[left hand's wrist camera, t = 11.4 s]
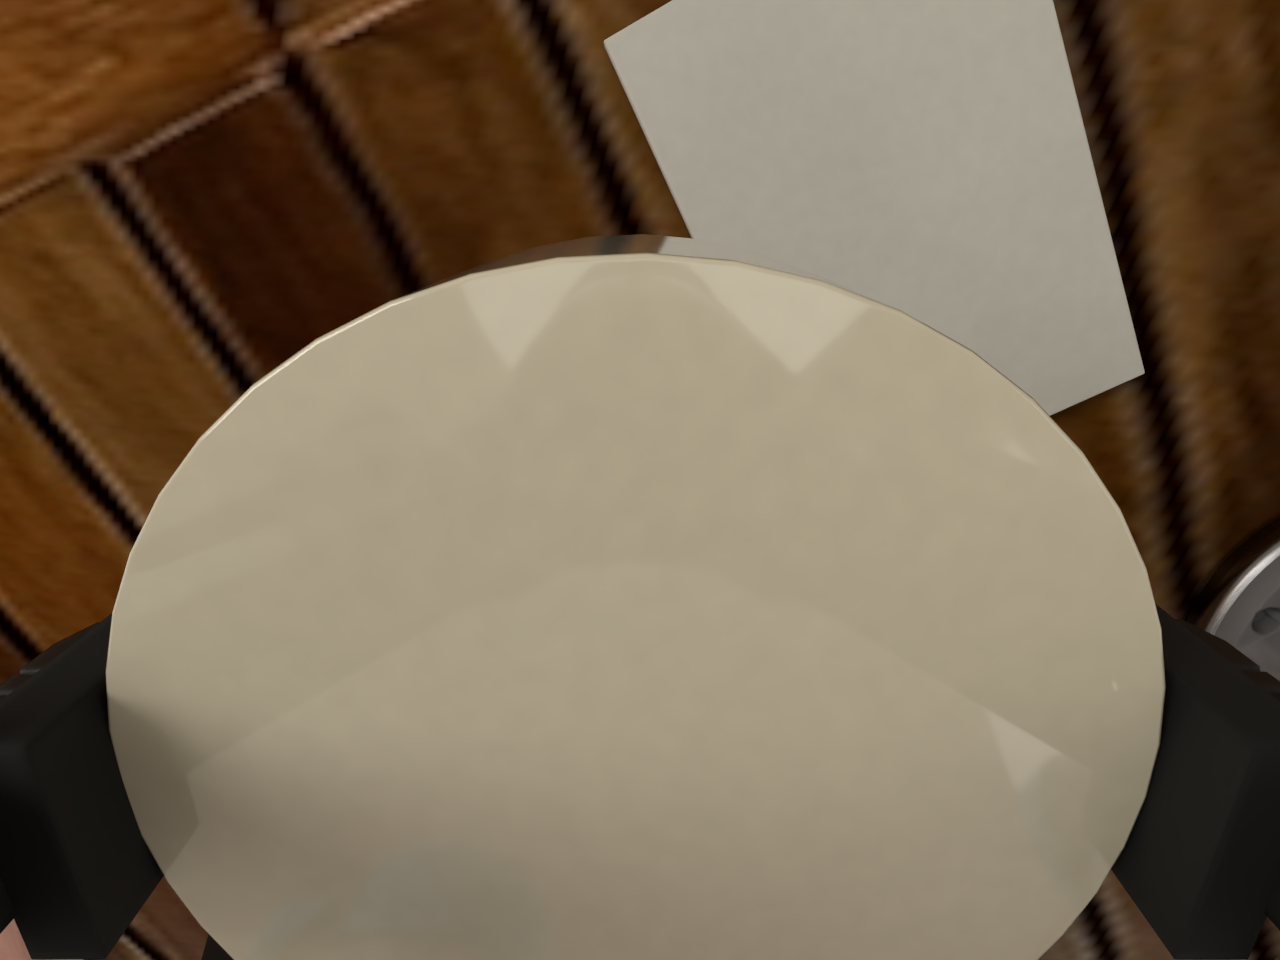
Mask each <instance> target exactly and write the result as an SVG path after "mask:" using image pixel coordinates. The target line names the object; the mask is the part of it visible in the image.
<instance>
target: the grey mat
mask: <svg viewBox="0 0 1280 960" xmlns="http://www.w3.org/2000/svg"><path fill="white" fill-rule="evenodd" d="M604 46H605V49H606V51H607V53H608V55H609V58H610V60H611V62H612V64H613V66H614V69H615V71H616V73H617V75H618V77H619V80H620V82H621V84H622V86H623V88H624V90H625V93H626V95H627V97H628V99H629V101H630V104H631V106H632V108H633V110H634V112H635V115H636V117H637V119H638V121H639V123H640V126H641V128H642V130H643V132H644V134H645V137H646V139H647V141H648V143H649V145H650V148H651V150H652V152H653V154H654V156H655V158H656V161H657V163H658V165H659V167H660V169H661V172H662V174H663V176H664V178H665V180H666V183H667V185H668V187H669V189H670V191H671V194H672V196H673V198H674V200H675V202H676V205H677V207H678V209H679V211H680V213H681V216H682V218H683V220H684V222H685V224H686V227H687V229H688V231H689V233H690V235H691V237H692V239H702V240H706V241H711V242H715V243H720V244H724V245H728V246H733V247H737V248H741V249H746V250H750V251H754V252H758V253H761V254H764V255H766V256H769V257H771V258H774V259H777V260H779V261H782V262H784V263H787V264H790V265H792V266H795V267H797V268H800V269H803V270H805V271H808V272H810V273H813V274H815V275H818V276H820V277H822V278H825V279H827V280H830V281H832V282H834V283H837V284H839V285H842V286H844V287H846V288H849V289H851V290H853V291H856V292H858V293H861V294H863V295H865V296H868V297H870V298H873V299H875V300H877V301H880V302H882V303H885V304H887V305H889V306H892V307H894V308H896V309H899V310H901V311H903V312H905V313H907V314H908V315H910V316H912V317H914V318H915V319H917V320H919V321H921V322H923V323H924V324H926V325H928V326H930V327H931V328H933V329H935V330H937V331H939V332H940V333H942V334H944V335H946V336H947V337H949V338H951V339H953V340H955V341H956V342H958V343H960V344H962V345H964V346H965V347H967V348H969V349H971V350H972V351H974V352H975V353H976V354H977V355H979V356H980V357H981V358H982V359H984V360H985V361H986V362H988V363H989V364H990V365H991V366H993V367H994V368H995V369H997V370H998V371H999V372H1000V373H1002V374H1003V375H1004V376H1006V377H1007V378H1008V379H1009V380H1011V381H1012V382H1013V383H1014V384H1016V385H1017V386H1018V387H1020V388H1021V389H1022V390H1023V391H1025V392H1026V393H1027V394H1029V395H1030V396H1031V397H1032V398H1033V399H1034V400H1035V401H1036V402H1037V403H1038V404H1039V405H1040V406H1041V407H1042V408H1043V409H1044V410H1045V412H1046V413H1047V414H1048V415H1049V416H1051V415H1053V414H1055V413H1057V412H1059V411H1062V410H1064V409H1066V408H1068V407H1071V406H1073V405H1075V404H1077V403H1080V402H1082V401H1084V400H1086V399H1089V398H1091V397H1093V396H1095V395H1098V394H1100V393H1102V392H1104V391H1106V390H1109V389H1111V388H1113V387H1115V386H1118V385H1120V384H1122V383H1124V382H1127V381H1129V380H1131V379H1133V378H1136V377H1138V376H1140V375H1142V374H1144V373H1145V372H1144V367H1143V363H1142V359H1141V355H1140V351H1139V347H1138V343H1137V339H1136V335H1135V331H1134V327H1133V323H1132V319H1131V315H1130V311H1129V307H1128V303H1127V299H1126V295H1125V290H1124V286H1123V282H1122V278H1121V274H1120V270H1119V266H1118V262H1117V258H1116V254H1115V250H1114V246H1113V242H1112V238H1111V234H1110V230H1109V226H1108V222H1107V218H1106V214H1105V209H1104V205H1103V201H1102V197H1101V193H1100V189H1099V185H1098V181H1097V177H1096V173H1095V169H1094V165H1093V161H1092V157H1091V153H1090V149H1089V145H1088V141H1087V137H1086V132H1085V128H1084V124H1083V120H1082V116H1081V112H1080V108H1079V104H1078V100H1077V96H1076V92H1075V88H1074V84H1073V80H1072V76H1071V72H1070V68H1069V64H1068V60H1067V56H1066V51H1065V47H1064V43H1063V39H1062V35H1061V31H1060V27H1059V23H1058V19H1057V15H1056V11H1055V7H1054V3H1053V0H672V1H670V2H669V3H667V4H665V5H663V6H662V7H660V8H658V9H657V10H655V11H653V12H652V13H650V14H648V15H646V16H645V17H643V18H641V19H640V20H638V21H636V22H634V23H633V24H631V25H629V26H628V27H626V28H624V29H623V30H621V31H619V32H617V33H616V34H614V35H612V36H611V37H609V38H607V39H606V40H604Z"/></svg>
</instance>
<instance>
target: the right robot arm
mask: <svg viewBox="0 0 1280 960" xmlns="http://www.w3.org/2000/svg"><path fill="white" fill-rule="evenodd" d="M201 960H233V959H232V958H231V957H230V956H229V954H228V953H227V952H226V951H225V950H224V949H223V948H222V947H221V946H220V945H219V944H218V943H217V942H216V941H215V940H214V939H213V938H212V937H211V936H210V935H209V936H208V939H207V942H206V946H205V949H204V953H203V956H202V959H201Z"/></svg>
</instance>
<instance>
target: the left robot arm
mask: <svg viewBox="0 0 1280 960" xmlns="http://www.w3.org/2000/svg"><path fill="white" fill-rule="evenodd" d="M1155 605H1156V604H1155ZM1156 609H1157V613H1158V617H1159V621H1160V625H1161V630H1162V644H1163V658H1164V672H1165V686H1166V688H1165V699H1164V709H1163V719H1162V730H1161V740H1160V746H1159V750H1158V754H1157V758H1156V762H1155V765H1154V769H1153V773H1152V777H1151V781H1150V784H1149V788H1148V792H1147V796H1146V799H1145V801H1144V803H1143V806H1142V808H1141V810H1140V813H1139V815H1138V817H1137V820H1136V822H1135V824H1134V827H1133V829H1132V831H1131V834H1130V836H1129V838H1128V841H1127V843H1126V845H1125V847H1124V849H1123V851H1122V852H1121V854H1120V856H1119V857H1118V859H1117V861H1116V862H1115V864H1114V866H1113V867H1112V869H1111V870H1112V871H1113V872H1114V874H1115V875H1116V877H1117V878H1118V880H1119V881H1120V882H1121V884H1122V885H1123V887H1124V888H1125V889H1126V891H1127V892H1128V894H1129V895H1130V897H1131V898H1132V899H1133V901H1134V902H1135V904H1136V905H1137V907H1138V908H1139V909H1140V911H1141V912H1142V914H1143V915H1144V916H1145V918H1146V919H1147V921H1148V922H1149V924H1150V925H1151V926H1152V928H1153V929H1154V931H1155V932H1156V933H1157V935H1158V936H1159V938H1160V939H1161V941H1162V942H1163V943H1164V945H1165V946H1166V948H1167V949H1168V951H1169V952H1170V953H1171V955H1172V956H1173V958H1174V959H1248V958H1249V955H1250V953H1251V951H1252V948H1253V946H1254V944H1255V942H1256V939H1257V937H1258V935H1259V932H1260V930H1261V928H1262V925H1263V923H1264V921H1265V918H1266V916H1268V917H1269V919H1270V920H1271V921H1272V922H1273V923H1274V924H1275V925H1276V927H1277V928H1278V929H1279V930H1280V518H1278V519H1277V520H1275V521H1273V522H1272V523H1270V524H1269V525H1267V526H1266V527H1265V528H1263V529H1262V530H1261V531H1259V532H1258V533H1256V534H1255V535H1254V536H1253V537H1251V538H1250V539H1249V540H1248V541H1247V542H1245V543H1244V544H1243V545H1242V546H1241V547H1240V548H1239V549H1238V550H1236V551H1235V552H1234V553H1233V554H1232V555H1231V556H1230V557H1229V558H1228V559H1227V560H1226V561H1225V563H1224V564H1223V565H1222V566H1221V567H1220V568H1219V569H1218V570H1217V571H1216V573H1215V574H1214V575H1213V577H1212V578H1211V579H1210V581H1209V582H1208V583H1207V584H1206V586H1205V587H1204V589H1203V590H1202V592H1201V594H1200V595H1199V597H1198V598H1197V600H1196V602H1195V604H1194V606H1193V608H1192V610H1191V611H1190V614H1189V616H1188V618H1187V621H1184V620H1175V619H1174V618H1173V617H1171V616H1170V615H1169V614H1167V613H1166V612H1165V611H1164V610H1162V609H1161V608H1160V607H1159V606H1157V605H1156ZM111 621H112V614H111V615H109V616H108V617H107V618H106V619H104V620H103V621H102V622H97V623H95V624H93V625H91V626H89V627H87V628H85V629H83V630H81V631H79V632H77V633H75V634H73V635H71V636H69V637H67V638H65V639H63V640H61V641H59V642H57V643H55V644H53V645H52V646H51V647H49V648H48V649H47V650H45V651H44V652H43V653H41V654H40V655H39V656H37V657H36V658H35V659H33V660H32V661H31V662H30V663H28V664H27V665H26V666H24V667H23V668H22V669H20V674H19V675H12V676H11V677H10V678H8V679H7V680H6V681H4V682H3V683H2V684H0V934H1V933H2V931H3V930H4V929H5V928H6V927H7V926H8V925H9V923H10V922H11V921H12V920H13V919H14V920H15V922H16V925H17V927H18V929H19V932H20V934H21V936H22V939H23V941H24V943H25V945H26V948H27V950H28V952H29V955H30V957H31V959H105V958H106V957H107V955H108V954H109V953H110V951H111V950H112V948H113V947H114V945H115V944H116V943H117V941H118V940H119V938H120V937H121V936H122V934H123V933H124V931H125V930H126V928H127V927H128V926H129V924H130V923H131V921H132V920H133V919H134V917H135V916H136V914H137V913H138V911H139V910H140V909H141V907H142V906H143V904H144V903H145V901H146V900H147V899H148V897H149V896H150V894H151V893H152V892H153V890H154V889H155V887H156V886H157V884H158V883H159V882H160V880H161V879H162V877H163V876H164V875H163V873H162V871H161V870H160V868H159V866H158V864H157V863H156V861H155V859H154V857H153V856H152V854H151V852H150V850H149V848H148V847H147V845H146V843H145V841H144V840H143V837H142V835H141V832H140V829H139V827H138V824H137V821H136V818H135V815H134V812H133V809H132V807H131V804H130V801H129V798H128V795H127V792H126V789H125V786H124V783H123V780H122V776H121V773H120V770H119V766H118V763H117V759H116V756H115V752H114V749H113V745H112V741H111V737H110V732H109V723H108V705H107V687H106V665H107V656H108V647H109V638H110V630H111ZM1275 960H1280V957H1279V958H1277V959H1275Z"/></svg>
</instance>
